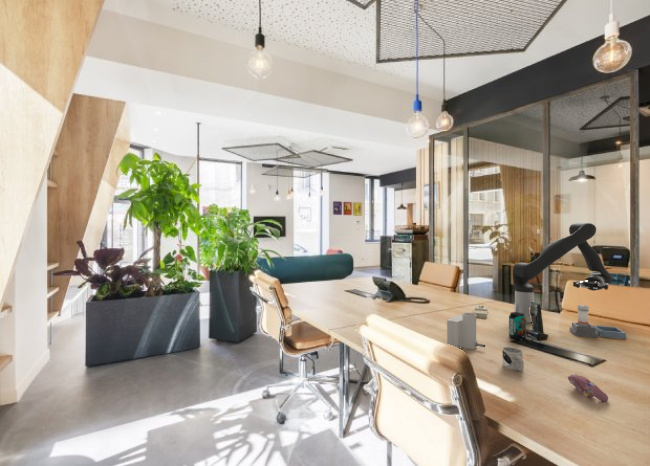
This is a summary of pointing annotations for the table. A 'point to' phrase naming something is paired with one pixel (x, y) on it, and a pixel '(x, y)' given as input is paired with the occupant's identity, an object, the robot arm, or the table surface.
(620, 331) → the tray
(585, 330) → the block
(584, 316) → the cylinder
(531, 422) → the table surface
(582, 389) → the video game controller
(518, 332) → the beverage can
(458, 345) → the grey stepped block
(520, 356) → the mug
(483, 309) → the electrical outlet
